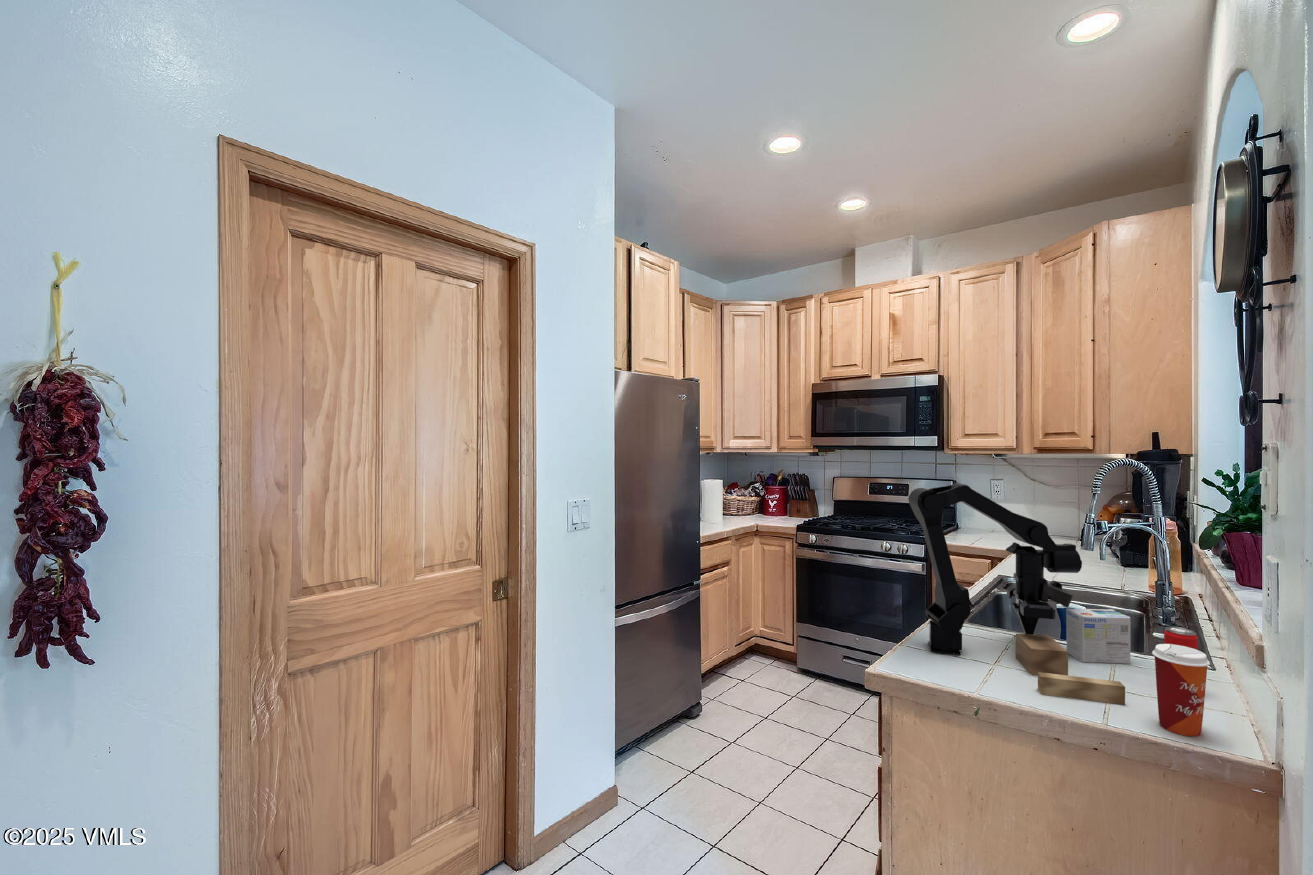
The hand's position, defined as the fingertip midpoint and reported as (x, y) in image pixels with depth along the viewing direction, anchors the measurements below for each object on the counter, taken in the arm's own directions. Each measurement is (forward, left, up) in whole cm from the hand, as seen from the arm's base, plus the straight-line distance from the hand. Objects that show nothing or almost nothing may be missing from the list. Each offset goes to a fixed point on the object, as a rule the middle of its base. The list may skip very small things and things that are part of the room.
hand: (1029, 637), depth 142 cm
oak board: (+4, -24, -4) cm, 25 cm away
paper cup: (+16, -33, -4) cm, 37 cm away
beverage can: (+24, -13, -4) cm, 28 cm away
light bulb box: (+14, +1, -4) cm, 15 cm away
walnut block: (0, -10, -4) cm, 11 cm away
